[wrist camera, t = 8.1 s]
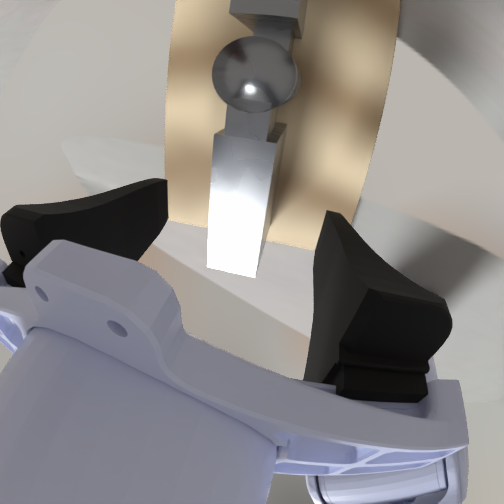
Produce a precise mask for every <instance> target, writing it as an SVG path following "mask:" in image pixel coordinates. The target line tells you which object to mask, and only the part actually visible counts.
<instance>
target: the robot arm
mask: <svg viewBox="0 0 504 504" xmlns="http://www.w3.org/2000/svg"><path fill="white" fill-rule="evenodd" d="M168 218H169V214H168V180H166V179H159V178H152V179H147V180H143V181H139V182H136V183H133V184H130V185H126V186H123V187H120V188H117V189H113V190H110V191H107V192H104V193H100V194H97V195H93V196H89V197H84V198H80V199H75V200H69V201H63V202H56V203H47V204H30V205H16V206H14V207H13V208H11V209H10V210H9V211H7V212H6V213H5V214H3V215H2V217H1V223H0V227H1V232H2V236H3V239H4V242H5V244H6V247H7V250H8V252H9V255H10V257H11V260H12V261H13V262H12V263H11V264H10V265H9V266H8V265H7V264H6V263H5V262H4V261H3V260H1V259H0V342H1V343H2V344H3V345H4V346H5V347H6V348H7V349H8V350H9V351H10V352H11V353H13V356H12V357H11V358H10V360H9V362H8V363H7V365H6V366H5V368H4V369H3V371H2V372H1V374H0V504H266V503H267V499H268V495H269V490H270V486H271V482H272V477H273V473H281V474H294V475H306V484H307V488H308V491H309V493H310V495H311V497H312V499H313V501H314V503H315V504H462V502H463V501H464V500H465V498H466V494H467V484H468V444H469V438H468V429H467V421H466V415H465V409H464V403H463V397H462V392H461V387H460V383H459V380H440V379H438V378H437V373H436V368H435V363H434V359H433V355H434V354H435V353H436V352H437V351H438V349H439V348H440V347H441V346H442V345H443V344H444V342H445V341H446V339H447V338H448V337H449V335H450V332H451V330H452V318H451V315H450V312H449V309H448V307H447V304H446V301H445V299H443V298H441V297H439V296H438V295H435V294H433V293H431V292H429V291H427V290H425V289H424V288H422V287H420V286H419V285H417V284H416V283H414V282H412V281H411V280H409V279H408V278H406V277H405V276H403V275H402V274H401V273H399V272H398V271H397V270H395V269H394V268H393V267H391V266H390V265H389V264H388V263H386V262H385V261H384V260H383V259H382V258H381V257H380V256H379V255H378V254H376V253H375V252H374V251H373V250H372V249H371V248H370V246H369V245H368V244H367V243H366V242H365V241H364V240H363V239H362V238H361V237H360V236H359V234H358V233H357V232H356V231H355V230H354V228H353V227H352V226H351V225H350V223H349V222H348V221H347V220H346V219H345V217H344V216H343V215H342V214H341V213H338V212H333V211H329V210H326V214H325V218H324V221H323V225H322V228H321V232H320V235H319V238H318V242H317V245H316V248H315V256H314V265H313V286H314V313H313V324H312V331H311V339H310V345H309V352H308V358H307V364H306V368H305V374H304V379H303V380H297V379H292V378H288V377H285V376H283V375H280V374H278V373H275V372H273V371H270V370H268V369H266V368H263V367H261V366H258V365H256V364H254V363H251V362H249V361H247V360H245V359H242V358H240V357H238V356H236V355H233V354H231V353H229V352H227V351H225V350H223V349H221V348H218V347H216V346H214V345H212V344H210V343H208V342H206V341H204V340H202V339H200V338H198V337H196V336H194V335H192V334H190V333H188V332H186V331H185V330H184V328H183V324H182V318H181V308H180V304H179V302H178V300H177V297H176V295H175V292H174V290H173V288H172V287H171V285H170V284H169V283H168V282H167V281H166V280H165V279H164V278H162V276H161V275H160V274H159V273H158V272H157V271H155V270H154V269H152V268H150V267H148V266H146V265H144V264H142V263H139V262H138V260H139V259H140V257H141V256H142V255H143V254H144V252H145V251H146V250H147V249H148V247H149V246H150V245H151V244H152V242H153V241H154V240H155V239H156V238H157V236H158V235H159V234H160V232H161V230H162V229H163V227H164V226H165V224H166V222H167V220H168Z"/></svg>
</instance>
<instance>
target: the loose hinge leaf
mask: <svg viewBox="0 0 504 504" xmlns="http://www.w3.org/2000/svg"><path fill="white" fill-rule="evenodd" d="M298 80H299V72H298V68H297V65H296V63H295V61H294V60H293V58H292V57H291V55H290V54H289V53H288V51H287V50H286V49H285V48H284V47H283V46H282V45H280V44H279V43H277V42H276V41H274V40H271V39H269V38H266V37H261V36H247V37H242V38H239V39H236V40H234V41H232V42H231V43H229V44H228V45H226V46H225V47H224V48H223V49H222V50H221V51H220V52H219V54H218V55H217V57H216V59H215V61H214V64H213V68H212V82H213V86H214V88H215V90H216V92H217V94H218V95H219V97H220V98H221V99H222V100H223V101H224V102H225V103H226V104H227V109H226V119H225V128H224V129H222V130H220V131H218V132H217V133H215V134H214V139H213V153H212V168H211V184H210V204H209V227H208V259H207V267H210V268H214V269H219V270H223V271H227V272H232V273H236V274H240V275H245V276H249V277H254V278H255V276H256V272H257V269H258V266H259V262H260V259H261V255H262V252H263V249H264V245H265V242H266V238H267V235H268V232H269V228H270V224H271V218H272V212H273V207H274V201H275V195H276V190H277V184H278V178H279V172H280V167H281V161H282V155H283V149H284V143H285V137H286V131H287V125H288V124H284V123H279V122H276V115H277V109H278V106H279V105H280V104H282V103H283V102H285V101H286V100H287V99H288V98H289V97H290V96H291V95H292V94H293V93H294V91H295V89H296V87H297V85H298Z"/></svg>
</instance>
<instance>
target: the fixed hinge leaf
mask: <svg viewBox="0 0 504 504" xmlns="http://www.w3.org/2000/svg"><path fill="white" fill-rule="evenodd" d="M307 2H308V0H231V1H230V8H229V14H231V15H232V16H233V17H235V18H236V19H237V20H239V21H240V22H241V23H243V24H244V25H245V26H246V27H248V28H249V29H250V30H251V31H253V32H254V34H253V36H261V37H266V38H269V39H271V40H274V41H276V42H277V43H279V44H280V45H282V46H283V47H284V48H285V49H286V50H287V51H288V53H289V54H290V55H291V56H292V50H293V43H294V38H296V39H302V36H303V30H304V23H305V16H306V9H307ZM296 65H297V64H296ZM297 68H298V66H297ZM298 72H299V80H298V85H297V87H296V89H295V91H294V93H293V94H292V95H291V96H290V97H289V98H288V99H287V100H286V101H285V102H283V103H282V104H280V105H279V106H282V105H284V104H285V103H287V102H288V101H289V100H291V99H292V98H293V97H294V96H295V95H296V94H297V93H298V91H299V89H300V86H301V80H302V79H301V72H300V70H299V68H298ZM279 106H278V107H279Z"/></svg>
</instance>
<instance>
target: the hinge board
mask: <svg viewBox="0 0 504 504" xmlns="http://www.w3.org/2000/svg"><path fill="white" fill-rule="evenodd" d="M230 1H231V0H176V5H175V12H174V19H173V27H172V35H171V44H170V54H169V66H168V77H167V92H166V114H165V116H166V117H165V179H166V180H168V214H169V218H168V220H170V221H175V222H180V223H185V224H190V225H195V226H200V227H205V228H208V227H209V204H210V184H211V168H212V153H213V139H214V134H215V133H217V132H218V131H220V130H222V129H224V128H225V119H226V109H227V104H226V103H225V102H224V101H223V100H222V99H221V98H220V97H219V95H218V94H217V92H216V90H215V88H214V86H213V82H212V68H213V64H214V61H215V59H216V57H217V55H218V54H219V52H220V51H221V50H222V49H223V48H224V47H225V46H226V45H228V44H229V43H231V42H232V41H234V40H236V39H239V38H242V37H247V36H253V34H254V32H253V31H251V30H250V29H249V28H248V27H246V26H245V25H244V24H243V23H241V22H240V21H239V20H237V19H236V18H235V17H233V16H232V15H231V14H229V8H230ZM400 2H401V0H308V2H307V9H306V16H305V23H304V30H303V36H302V39H296V38H294V43H293V50H292V56H291V57H292V58H293V60H294V61H295V63H296V64H297V66H298V68H299V70H300V72H301V79H302V80H301V86H300V89H299V91H298V93H297V94H296V95H295V96H294V97H293V98H292V99H291V100H289V101H288V102H287V103H285V104H284V105H282V106H279V107H278V109H277V115H276V122H279V123H284V124H288V125H287V131H286V137H285V143H284V149H283V155H282V161H281V167H280V172H279V178H278V184H277V190H276V195H275V201H274V207H273V212H272V218H271V224H270V228H269V232H268V235H267V238H266V240H267V241H272V242H276V243H281V244H286V245H290V246H295V247H300V248H304V249H309V250H313V251H315V248H316V245H317V242H318V238H319V235H320V232H321V228H322V225H323V221H324V218H325V214H326V210H329V211H333V212H338V213H341V214H342V215H343V216H344V217H345V219H346V220H347V221H348V222H349V223H350V225H351V223H352V220H353V217H354V214H355V211H356V207H357V204H358V201H359V198H360V195H361V191H362V188H363V185H364V181H365V178H366V175H367V171H368V168H369V164H370V161H371V157H372V153H373V150H374V146H375V142H376V138H377V134H378V130H379V126H380V122H381V118H382V113H383V108H384V104H385V100H386V95H387V90H388V85H389V79H390V75H391V69H392V63H393V58H394V51H395V45H396V38H397V30H398V22H399V13H400Z"/></svg>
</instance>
